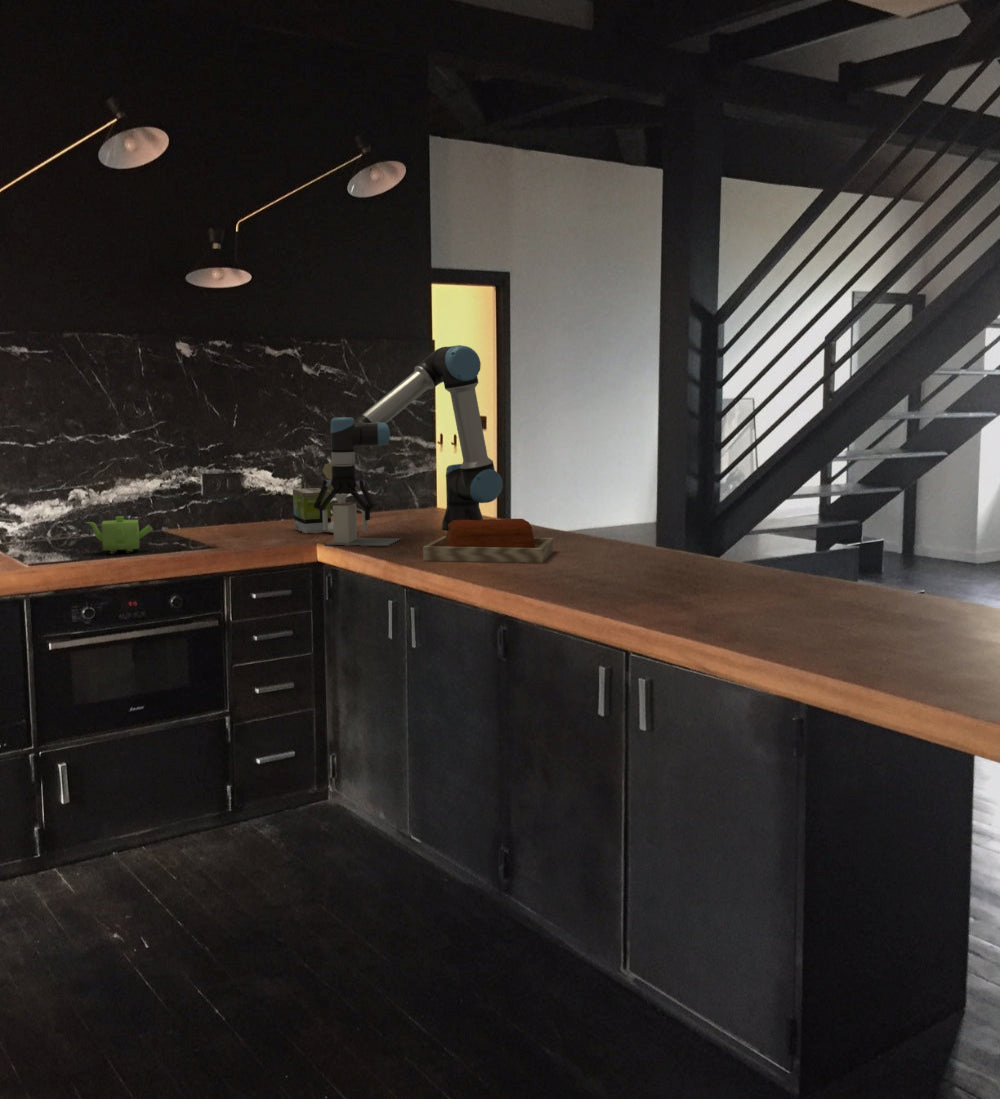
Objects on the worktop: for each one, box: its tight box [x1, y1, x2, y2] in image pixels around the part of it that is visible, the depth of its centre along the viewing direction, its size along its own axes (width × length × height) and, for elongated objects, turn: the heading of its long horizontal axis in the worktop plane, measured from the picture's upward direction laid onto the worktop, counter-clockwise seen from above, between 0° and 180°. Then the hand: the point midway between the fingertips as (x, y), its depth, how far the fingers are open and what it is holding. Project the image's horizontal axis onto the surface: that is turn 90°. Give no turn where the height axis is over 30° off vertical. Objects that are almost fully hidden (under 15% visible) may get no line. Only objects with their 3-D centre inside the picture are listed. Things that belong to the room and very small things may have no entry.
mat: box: [323, 537, 402, 547], centre depth 373 cm, size 21×16×1 cm
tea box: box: [292, 487, 332, 533], centre depth 406 cm, size 15×10×15 cm
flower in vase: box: [322, 461, 359, 534], centre depth 398 cm, size 13×11×25 cm
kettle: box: [84, 515, 154, 552], centre depth 357 cm, size 15×14×11 cm
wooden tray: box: [422, 536, 555, 564], centre depth 342 cm, size 35×24×5 cm
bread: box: [445, 518, 535, 548], centre depth 341 cm, size 16×27×11 cm, turn 98°
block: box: [332, 502, 358, 543], centre depth 373 cm, size 5×9×12 cm, turn 169°
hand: (345, 530), depth 374 cm, fingers open, 13 cm apart
